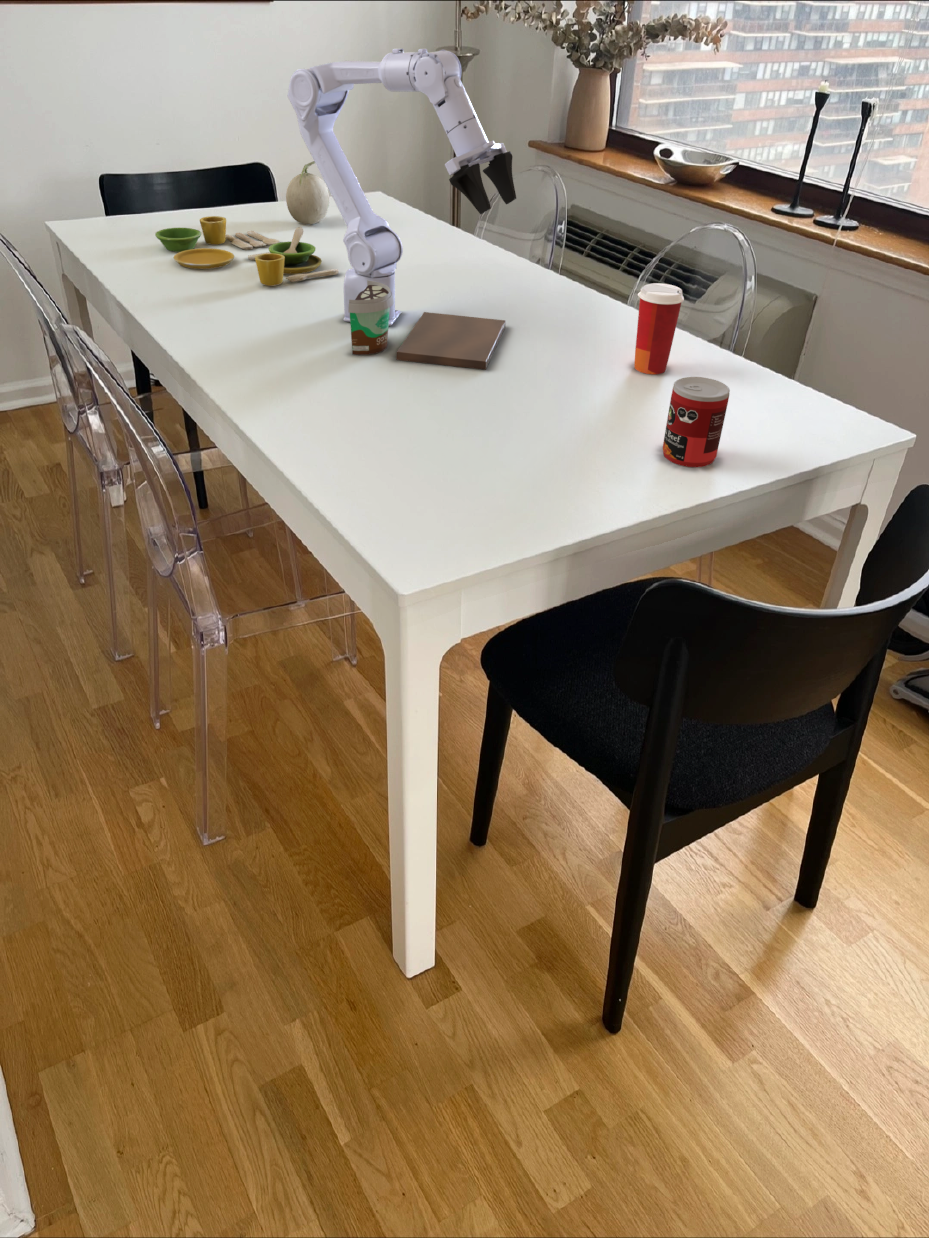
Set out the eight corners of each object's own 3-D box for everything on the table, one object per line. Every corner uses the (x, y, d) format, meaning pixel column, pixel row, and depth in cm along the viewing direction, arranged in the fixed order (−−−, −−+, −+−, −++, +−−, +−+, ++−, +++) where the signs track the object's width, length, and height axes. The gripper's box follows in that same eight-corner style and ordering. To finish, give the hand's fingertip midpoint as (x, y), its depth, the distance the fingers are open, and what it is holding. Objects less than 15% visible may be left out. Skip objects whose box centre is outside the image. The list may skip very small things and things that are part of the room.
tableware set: (345, 276, 210) (345, 246, 206) (227, 297, 196) (224, 265, 192) (254, 231, 236) (252, 203, 232) (144, 247, 222) (139, 218, 218)
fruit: (281, 228, 240) (276, 161, 231) (295, 216, 249) (291, 152, 240) (322, 231, 238) (319, 165, 230) (335, 220, 248) (332, 155, 239)
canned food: (656, 445, 148) (667, 376, 142) (707, 445, 149) (721, 376, 143) (668, 468, 142) (681, 397, 136) (722, 468, 143) (737, 397, 137)
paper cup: (674, 364, 176) (688, 286, 168) (667, 379, 170) (681, 299, 162) (632, 357, 178) (643, 279, 170) (623, 372, 172) (634, 292, 164)
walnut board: (396, 360, 172) (396, 351, 172) (424, 319, 190) (424, 312, 189) (485, 370, 170) (486, 361, 169) (505, 328, 188) (505, 320, 187)
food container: (383, 361, 172) (383, 304, 166) (349, 357, 173) (348, 300, 167) (401, 337, 182) (401, 283, 176) (369, 334, 182) (368, 279, 177)
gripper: (452, 121, 154) (490, 205, 157) (504, 107, 163) (539, 186, 166) (423, 144, 159) (461, 224, 162) (475, 129, 168) (510, 205, 171)
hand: (498, 206), depth 164 cm, fingers open, 7 cm apart
